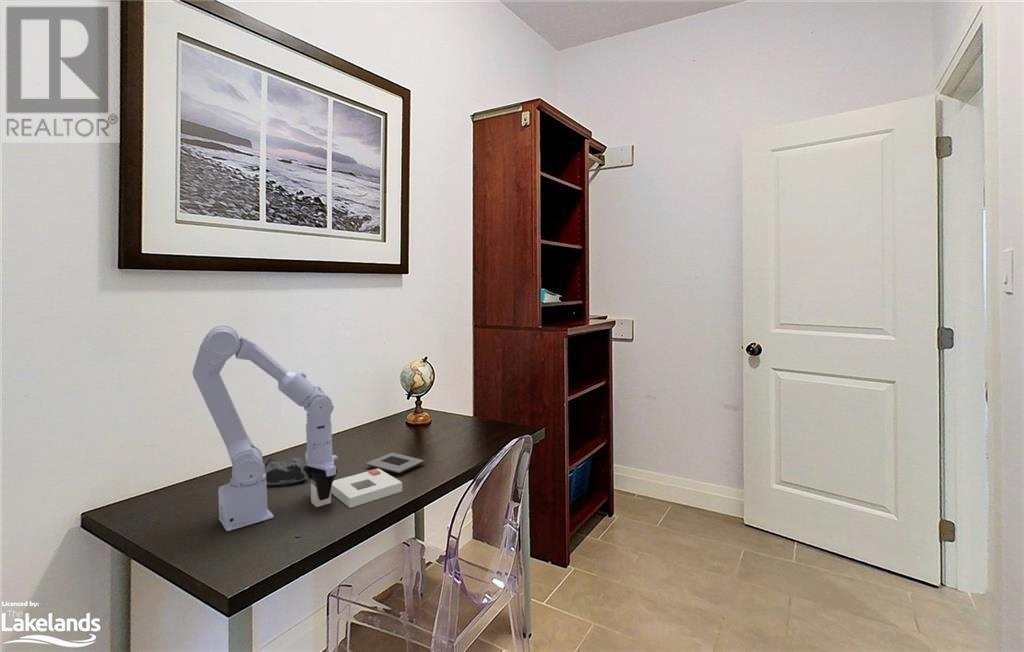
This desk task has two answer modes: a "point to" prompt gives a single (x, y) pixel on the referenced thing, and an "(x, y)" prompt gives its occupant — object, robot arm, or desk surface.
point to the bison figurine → (284, 471)
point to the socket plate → (365, 487)
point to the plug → (315, 497)
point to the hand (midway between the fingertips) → (320, 496)
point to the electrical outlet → (395, 463)
